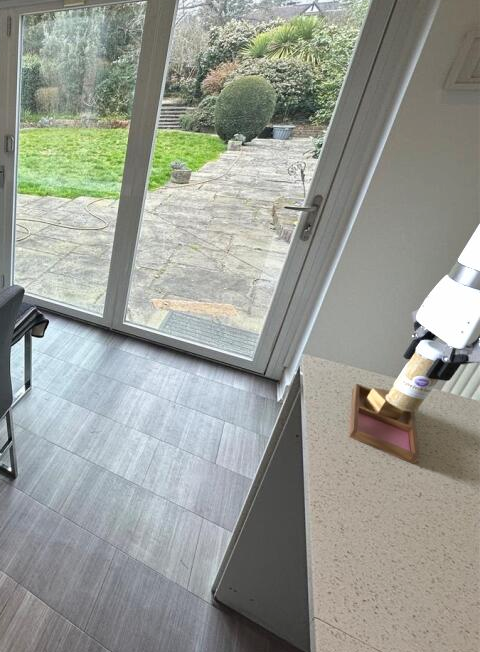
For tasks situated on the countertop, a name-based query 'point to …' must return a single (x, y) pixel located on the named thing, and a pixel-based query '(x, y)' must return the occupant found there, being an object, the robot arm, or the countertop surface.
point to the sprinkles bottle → (416, 377)
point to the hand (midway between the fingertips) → (425, 367)
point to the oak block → (382, 403)
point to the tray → (383, 428)
